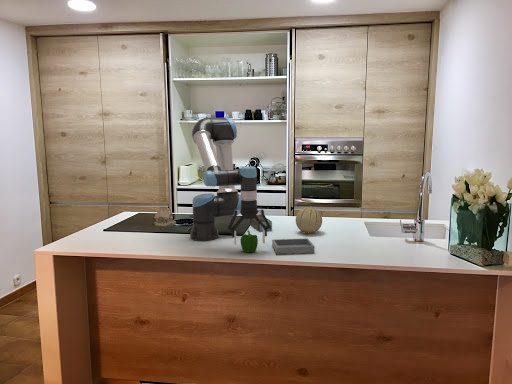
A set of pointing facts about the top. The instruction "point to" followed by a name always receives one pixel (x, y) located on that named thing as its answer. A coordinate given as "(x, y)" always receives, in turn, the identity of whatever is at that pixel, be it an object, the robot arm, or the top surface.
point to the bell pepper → (249, 242)
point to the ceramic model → (164, 218)
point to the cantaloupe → (309, 220)
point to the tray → (292, 246)
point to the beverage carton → (257, 226)
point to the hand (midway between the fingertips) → (249, 243)
